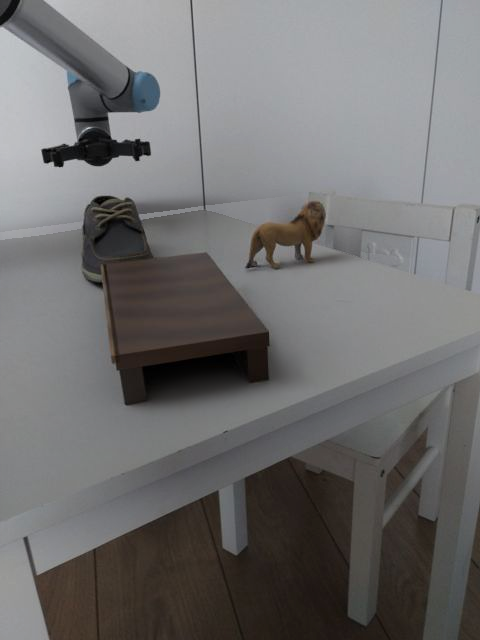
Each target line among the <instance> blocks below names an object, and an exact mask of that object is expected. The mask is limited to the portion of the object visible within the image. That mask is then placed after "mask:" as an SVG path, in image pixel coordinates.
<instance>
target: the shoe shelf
mask: <svg viewBox="0 0 480 640" xmlns="http://www.w3.org/2000/svg"><path fill="white" fill-rule="evenodd" d="M101 274H102V282H101V283H102V290H103V299H104V300H103V301H104V309H105V318H106V327H107V336H108V344H109V345H108V346H109V353H110V360H111V361H110V362H111V364H112V365H115V369H116V371H118V373H119V378H120V379H119V380H120V384H121V390H122V396H123V402H124V403H123V404H124V405H131V404H136V403H143V402H147V401H148V398H147V397H148V396H147V390H146V383H145V375H144V369H143V367H149V366H154V365H161V364H168V363H173V362H179V361H180V362H181V361H185V360H191V359H199V358H206V357H212V356H217V355H223V354H224V355H225V354H229V353H231V355H232V356H233V358H234V360H235V361H236V363H237V364H238V366H239V368H240V370H241V371H242V374H243V375H244V377H245V379H246V380H247V382H248V383H249V384H253V383H258V382H265V381H269V380H270V367H269V365H270V364H269V347H270V345H271V344H270V343H271V341H270V340H271V339H270V331H269V330H268V328H267V327H266V326H265V324H264V323H263V322H262V321H261V319H260V318H259V316H258V315H257V314H256V313H255V312H254V311H253V309H252V308H251V307H250V305H249V304H248V303H247V301H246V300H245V299H244V297H243V296H242V295H241V294H240V292H239V291H238V290H237V289H236V288H235V286H234V285H233V284H232V282H231V281H230V280H229V279H228V277H227V276H226V275H225V273H224V272H223V271H222V269H221V268H220V267H219V266H218V265H217V263H216V262H215V260H213V258H212V257H211V256H210V255H209V253H208V252H207V251H205V252H196V253H188V254H179V255H171V256H162V257H153V258H152V259H144V260H135V261H126V262H118V263H109V264H101Z"/></svg>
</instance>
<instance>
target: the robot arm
mask: <svg viewBox="0 0 480 640" xmlns="http://www.w3.org/2000/svg"><path fill="white" fill-rule="evenodd" d="M0 28H3V29H5V30H6V31H8V32H9V33H10V34H12V35H14V36H15V37H16V38H18V39H19V40H21V41H22V42H23V43H25V44H27V45H28V46H30V47H31V48H33V49H34V50H36V51H37V52H38V53H40V54H42V55H43V56H45V58H48V59H49V60H50V61H52V62H53V63H55V64H56V65H58V66H59V67H61V69H64V70H65V71H66V77H67V78H66V80H67V91H68V94H69V100H70V105H71V110H72V111H71V112H72V115H73V120H74V122H73V123H74V129H75V135H76V141H75V142H74V144H73V145H70V144H67V143H62V144H60V145H55V146H50V147H47V148H46V147H43V148H41V149H40V151H41V157H42V161H43V164H46V165H48V164H50V163H53V167H54V168H64V165H65V162H69V161H73V160H77V161H84V163H86V164H87V165H90V166H92V167H104V166H106V165H108V164H109V163H110V162H111V161H112V160H113V159H116V158H119V157H132V158H133V160H134V162H140V161H141V159H140V158H141V157H143V156H146V157H150V156H152V148H151V142H150V141H147V140H146V141H142V140H141V138H135V139H134V140H131V139H124V140H122V141H121V142H119V141H118V140H117V139H113V138H112V133H111V126H110V119H109V114H110V113H138V114H141V113H144V112H145V113H146V112H152V111H154V110H155V109H156V108H157V107H158V105H159V104H160V101H161V100H160V98H161V89H160V88H161V87H160V84H159V82H158V80H157V78H156V77H155V75H153V74H152V73H150V72H148V71H142V70H140V71H137V72H136V71H134V70H132V68H129V66H127V65H125V64H124V63H123V62H122V61H120V60H119V59H118V58H117V57H116V56H114V55H113V54H112V53H111V52H109V51H108V50H107V49H106V48H104V47H103V46H102V45H101V44H99V43H98V42H97V41H96V40H94V39H93V38H91V36H90V35H88V34H87V33H86V32H84V31H83V30H82V29H81V28H79V27H78V26H77V25H76V24H75V23H73V22H72V21H70V20H69V19H68V18H67V17H66V16H64V15H63V14H62V13H61V12H60V11H58V10H57V9H55V7H54V6H52V5H50V4H49V3H48V2H47V1H45V0H0Z"/></svg>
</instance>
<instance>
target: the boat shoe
mask: <svg viewBox="0 0 480 640" xmlns="http://www.w3.org/2000/svg"><path fill="white" fill-rule="evenodd" d="M85 206H86V207H85V208H84V211H83V217H84V218H83V222H82V226H81V236H82V249H81V260H82V261H81V271H82V272H81V273H82V275H83V277H84V278H85V279H86V280H88V281H90V282H93V283H102V274H101V264H109V263H118V262H126V261H135V260H144V259H152V258H154V256H153V253H152V251H151V248H150V245H149V243H148V239H147V235H146V232H145V228H144V226H143V225H144V224H143V223H142V221H141V218H140V215H139V212H138V209H137V205H136V203H135V201H134V200H133V199H132V198H130V197H125V198H124V199H120V198H119V197H117V196H113V195H98V196H95V197H94V198H93V199H92V200H91V201H90V203H88V204H87V205H85Z"/></svg>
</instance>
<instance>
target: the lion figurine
mask: <svg viewBox="0 0 480 640" xmlns="http://www.w3.org/2000/svg"><path fill="white" fill-rule="evenodd" d="M326 218H327V212H326V209H325V206H324V204H323V203H322V202H321V201H318V200H308V201H307V202H304V204H302V205H301V210H300V211H299V212H298V213H297V214H296V216H295V217H294V218H293V219H291V220H290V221H289V222H281V223H280V222H272V221H271V222H269V221H268V222H264V223H261V224H260V225H259V226H258V227H256V228H255V230H254V232H253V234H252V236H251V239H250V246H249V254H248V261H247V263H246V265H245V267H244V269H250V268H251V267H256V266H258V261H256V260H254V259H255V257H256V255H257V254H258V253H259V252H260V251H262V249H264V250H265V260H266V262H267V263H268V264H269V266H270V268H272V269H280V268H281V265H280V264H279V263H277V262H275V260H274V258H273V257H274V253H275V251H276V247H277V245H278V246H281V247H294V258H295V259H296V260H303V259H304V260H305V261H306V263H311V264H312V263H314V262H315V259H314V258H313V257H311V255H312V249H313V242H315V241H317V240H318V239H319V238H320V237H321V236H322V233H323V229H324V226H325V224H326V223H325V222H326ZM302 246H303V248H304V255H303V254H302Z"/></svg>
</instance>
